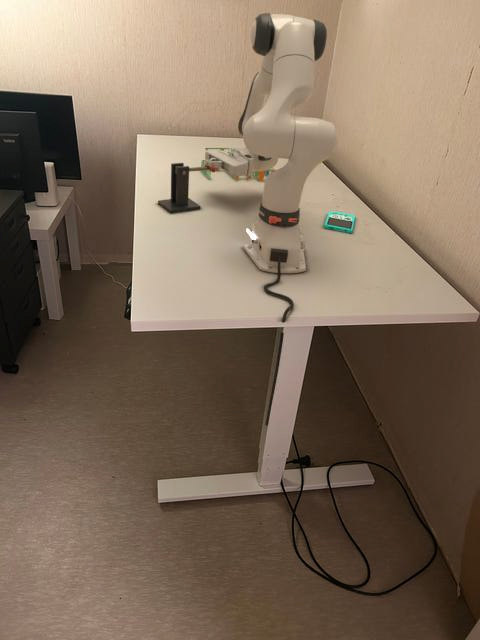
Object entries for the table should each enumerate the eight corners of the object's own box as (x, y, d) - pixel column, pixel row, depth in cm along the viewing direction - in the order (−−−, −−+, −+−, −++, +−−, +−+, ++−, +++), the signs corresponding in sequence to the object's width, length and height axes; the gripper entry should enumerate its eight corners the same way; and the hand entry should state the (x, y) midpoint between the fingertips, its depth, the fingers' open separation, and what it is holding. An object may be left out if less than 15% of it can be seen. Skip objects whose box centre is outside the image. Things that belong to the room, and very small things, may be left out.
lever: (207, 169, 169) (207, 162, 167) (215, 173, 165) (215, 166, 164) (172, 171, 161) (172, 164, 160) (180, 176, 158) (180, 169, 157)
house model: (275, 180, 204) (277, 169, 202) (212, 182, 194) (213, 170, 191) (245, 157, 230) (246, 148, 228) (188, 158, 220) (188, 148, 217)
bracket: (187, 199, 173) (188, 159, 165) (200, 209, 167) (202, 168, 159) (157, 203, 167) (157, 162, 159) (170, 213, 161) (171, 170, 152)
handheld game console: (355, 218, 175) (356, 214, 174) (352, 233, 162) (353, 230, 161) (328, 213, 176) (329, 209, 176) (323, 228, 163) (324, 224, 162)
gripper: (224, 144, 177) (193, 146, 170) (256, 159, 163) (223, 162, 156) (223, 161, 180) (192, 164, 173) (253, 177, 167) (221, 181, 160)
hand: (207, 163), depth 165 cm, fingers closed
